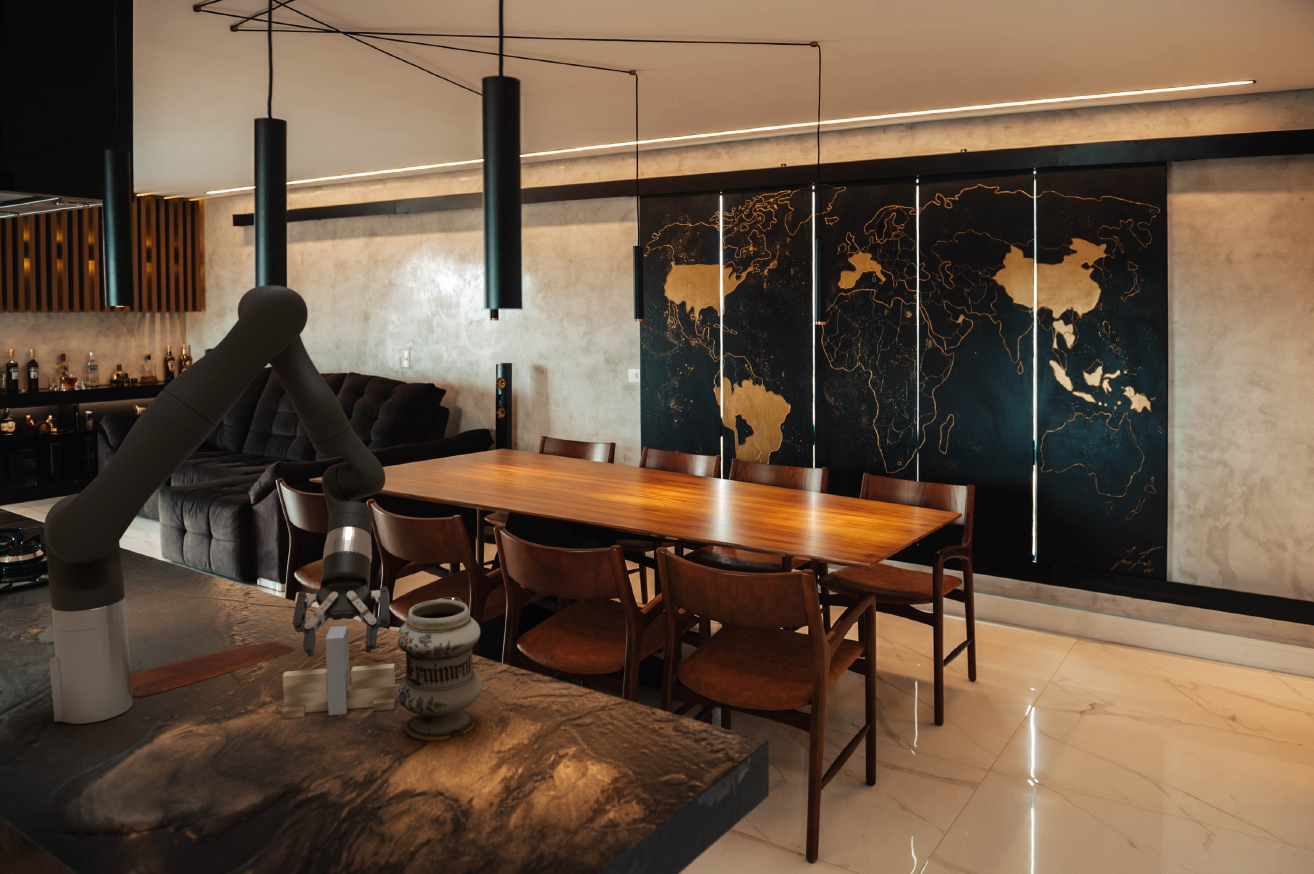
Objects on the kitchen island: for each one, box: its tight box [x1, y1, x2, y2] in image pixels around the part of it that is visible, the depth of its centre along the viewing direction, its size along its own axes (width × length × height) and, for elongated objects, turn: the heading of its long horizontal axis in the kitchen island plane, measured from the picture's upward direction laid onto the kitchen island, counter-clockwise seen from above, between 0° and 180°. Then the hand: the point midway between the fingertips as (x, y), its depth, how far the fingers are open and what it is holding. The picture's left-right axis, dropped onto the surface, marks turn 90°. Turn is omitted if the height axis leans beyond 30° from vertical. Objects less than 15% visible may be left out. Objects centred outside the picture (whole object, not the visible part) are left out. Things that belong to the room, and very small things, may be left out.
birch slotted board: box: [281, 663, 397, 720], centre depth 131 cm, size 16×5×6 cm, turn 102°
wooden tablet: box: [131, 641, 295, 698], centre depth 147 cm, size 27×10×2 cm, turn 140°
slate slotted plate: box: [325, 625, 351, 716], centre depth 131 cm, size 2×5×12 cm, turn 13°
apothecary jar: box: [396, 599, 483, 742], centre depth 124 cm, size 12×12×18 cm
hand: (339, 652), depth 131 cm, fingers open, 8 cm apart
